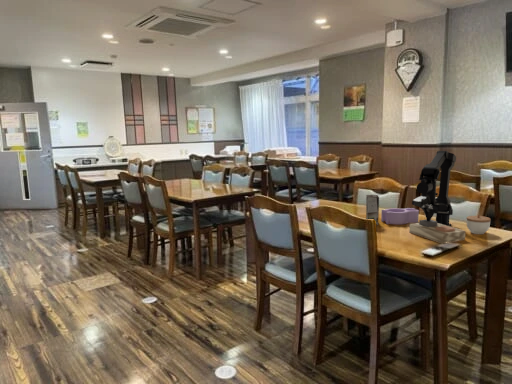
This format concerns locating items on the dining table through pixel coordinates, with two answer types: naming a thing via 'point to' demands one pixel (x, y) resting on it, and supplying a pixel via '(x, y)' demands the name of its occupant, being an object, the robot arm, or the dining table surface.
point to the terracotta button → (445, 229)
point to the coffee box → (372, 207)
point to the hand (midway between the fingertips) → (428, 220)
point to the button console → (437, 233)
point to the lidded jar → (478, 224)
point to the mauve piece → (399, 215)
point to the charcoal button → (428, 223)
